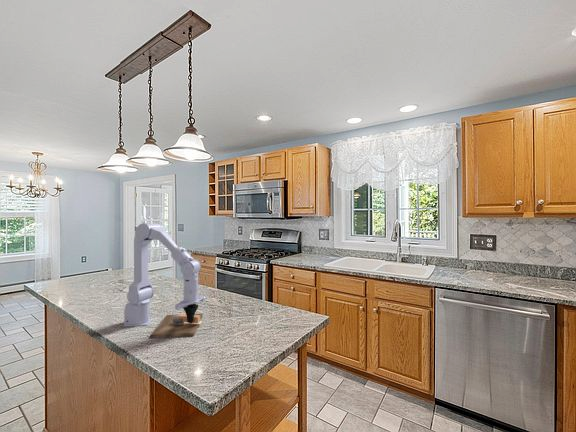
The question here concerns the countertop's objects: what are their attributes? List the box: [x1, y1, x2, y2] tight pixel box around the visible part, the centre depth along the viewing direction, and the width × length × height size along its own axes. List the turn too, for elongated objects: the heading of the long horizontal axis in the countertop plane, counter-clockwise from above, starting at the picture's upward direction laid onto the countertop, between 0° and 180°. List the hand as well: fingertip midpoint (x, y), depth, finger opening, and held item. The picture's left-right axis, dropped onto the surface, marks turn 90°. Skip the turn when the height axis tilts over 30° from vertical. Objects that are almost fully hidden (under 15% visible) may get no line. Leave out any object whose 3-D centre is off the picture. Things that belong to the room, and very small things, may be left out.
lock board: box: [150, 313, 203, 339], centre depth 120 cm, size 17×22×2 cm
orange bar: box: [173, 313, 200, 323], centre depth 119 cm, size 12×5×2 cm, turn 81°
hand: (190, 322), depth 117 cm, fingers closed, pressing on orange bar
